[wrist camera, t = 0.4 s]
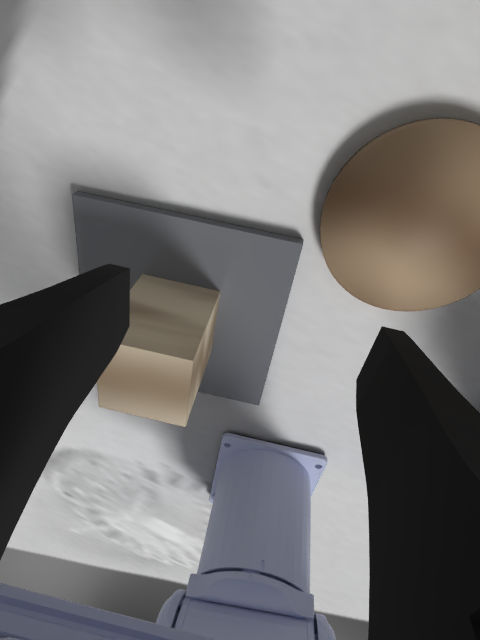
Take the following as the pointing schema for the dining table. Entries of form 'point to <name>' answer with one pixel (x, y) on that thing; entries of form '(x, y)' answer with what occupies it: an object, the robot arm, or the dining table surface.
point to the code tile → (201, 277)
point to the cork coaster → (408, 217)
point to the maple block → (161, 351)
